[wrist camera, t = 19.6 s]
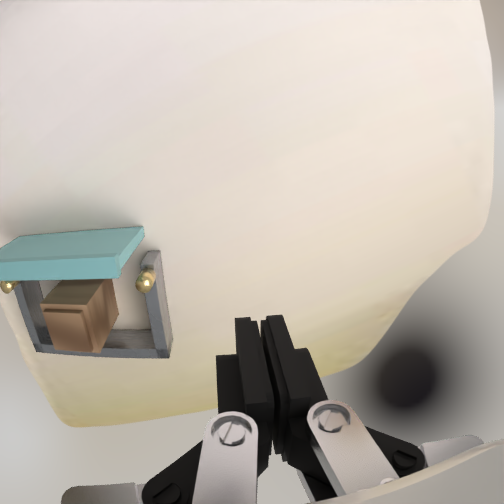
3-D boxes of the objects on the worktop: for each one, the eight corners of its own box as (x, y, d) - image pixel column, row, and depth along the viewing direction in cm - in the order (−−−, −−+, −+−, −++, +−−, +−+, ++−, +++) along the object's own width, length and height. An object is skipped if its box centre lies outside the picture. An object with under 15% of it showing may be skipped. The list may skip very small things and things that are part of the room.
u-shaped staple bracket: (24, 257, 28) (-3, 277, 23) (161, 250, 30) (149, 273, 24) (47, 335, 32) (28, 362, 27) (173, 338, 33) (167, 371, 28)
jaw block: (69, 272, 29) (36, 306, 22) (110, 271, 30) (84, 308, 23) (79, 313, 31) (52, 353, 24) (118, 314, 32) (98, 357, 24)
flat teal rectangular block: (19, 233, 27) (-29, 263, 19) (142, 223, 28) (114, 256, 20) (21, 247, 28) (-24, 280, 19) (144, 239, 29) (118, 278, 21)
